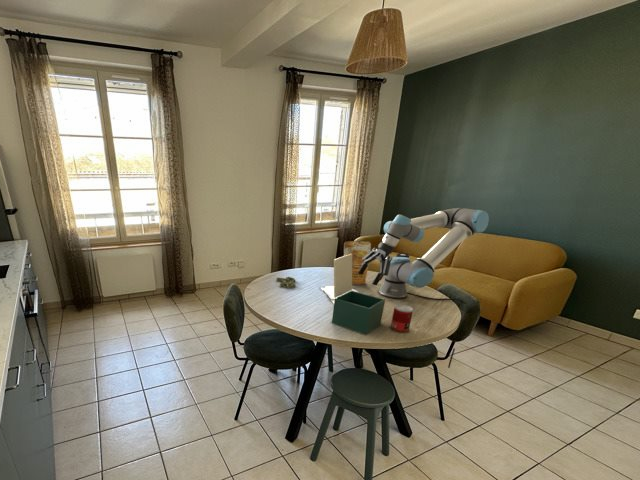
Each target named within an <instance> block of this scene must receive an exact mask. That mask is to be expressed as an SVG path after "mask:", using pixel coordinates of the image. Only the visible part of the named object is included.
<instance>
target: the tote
mask: <svg viewBox="0 0 640 480" xmlns="http://www.w3.org/2000/svg"><path fill="white" fill-rule="evenodd" d="M385 303H386V299H385V298H381V297H377V296H374V295H370V294H366V293H362V292H359V291H357V292H355V291H349V292H347V293H345V294H343V295H341V296H339V297H337V298H335V301H334V304H333V308H332V309H333V310H332V316H331V317H332V319H331V323H332V324H335V325H337V326H341V327H344V328H347V329H349V330H351V331H355V332H357V333H360V334H364V335H367V334H368V333H370V332H371V331H372V330H374V329H376V328H377V327H378V326H380V325H381V323H382V319H383V314H384V309H385Z"/></svg>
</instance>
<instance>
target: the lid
mask: <svg viewBox="0 0 640 480" xmlns="http://www.w3.org/2000/svg"><path fill="white" fill-rule="evenodd" d="M333 286H334V298H336V297H338V296H340V295H342V294H344V293H346V292H348V291H350V290H352V289H353V284H352V254H349V255H346V256H344V255H342V256H340V257H338V258H334V259H333Z"/></svg>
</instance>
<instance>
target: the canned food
mask: <svg viewBox="0 0 640 480" xmlns="http://www.w3.org/2000/svg"><path fill="white" fill-rule="evenodd" d="M413 312H414V308H413V307H411V306H409V305H407V304H396V305H394V307H393V313H392V317H391V323H390V328H391V329H392V330H393V331H395V332H398V333H407V332H408V331H409V329H410V326H411V323H412V317H413V314H414V313H413Z"/></svg>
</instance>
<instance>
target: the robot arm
mask: <svg viewBox="0 0 640 480" xmlns="http://www.w3.org/2000/svg"><path fill="white" fill-rule="evenodd" d="M489 221H490V217H489V214H488V212H487V211H485V210H480V209H471V208H464V207H454V208H449V209H444V210H439V211H437V212H435V213H433V214H428V215H423V216H419V217H414V218H409V217H408V216H405V215H403V214H397V215H396V216H395V217H394V219H393V220H389V221H387V222H385V224H384V225H383V232H384V236H383V237H382V241H380V242H379V244H378V246H377V247H373V248H371V252H370V253H368V254H367V255H366V256H365V257H364V258H363V259H362V260H363V262H364V263H363V264H362V266H361V269H360V271H359V272H358V274H361V275H363V273H364V271H365V269H366V268H367V266H368V263H369V264H370V263H372V262H373V261H375V260H378V261H379V272H378V273H377V275H376V277H374V279H373V281H372V282H371V285H373V286H377V285H379V282H380V281H381V280H382V279H383V277H384V281H383V282H382V284H381V286H380V287H379V291H378V294H379V295H381V296H383V297H386V298H389V299H404V298H405V299H406V297H407V295H410V296H414V297H418V298H422V299H425V300H426V299H427V300H432V301H433V300H434V301H459V302H461V303H462V304H464V303H465V301H464V300H462V299H460V298H436V297H430V296H429V297H428V296H423V295H419V294H415V293H411V292H407V285H409V286H411V287H414V288H421V289H422V288H424V287H426V286H428V285H429V284H430V283H431V282H432V281H433V278H434V276H435V274H434V273H435V268H436V267H438V265H440V263H442V261H443V260H445V259H446V257H448V255H449V254H450V253H451V252H452V251H454V250H455V249H456V248H457V247H458V246H459V245H460V244H461V243H462V242H463V241H464V240H465V239H470V238H471V237H472V236H474V235H475V234H482V233H483V232H485V231H486V229H487V228H488V225H489ZM434 228H437V229H442V228H449V229H450V230H449V231H447V233H445V235H444V236H442V237H441V239H439V240H438V241H437V243H435V244H434V245H433V246H432V247H431V248H430V249H429V250H428V251H427V252H426V253H425V254H424V255H422V257H417V258H416V259H414V260H413V262H411V258H410V257H409V258H406V257H396V256H390V255H391V254H392V253H393V252H394V250H395V247H397V245H398V243H399V242H400V240H401V239H404V240H408V241H410V242H413V243H419V242H421V240H423V239H424V236H425V231H424V230H429V229H434ZM368 267H369V266H368ZM406 284H407V285H406ZM455 350H456V348H453V349H452V352H451V355H450V359H449V362H448V365H447V368H448V369H450V368H451V365H452V360H453V357H454V353H455Z"/></svg>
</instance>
